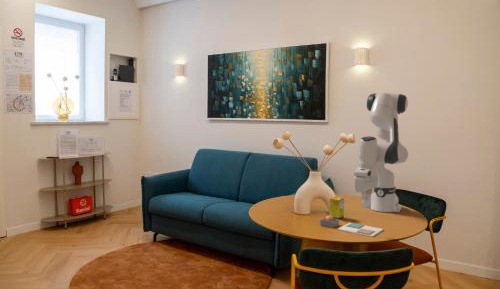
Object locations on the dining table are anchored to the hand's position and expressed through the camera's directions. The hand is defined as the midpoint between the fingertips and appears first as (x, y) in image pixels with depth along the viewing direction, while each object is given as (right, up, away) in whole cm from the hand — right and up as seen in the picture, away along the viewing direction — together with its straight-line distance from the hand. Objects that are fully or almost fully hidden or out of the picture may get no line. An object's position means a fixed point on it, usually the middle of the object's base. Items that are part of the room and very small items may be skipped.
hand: (366, 198), depth 192 cm
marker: (0, -4, 0) cm, 4 cm away
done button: (-15, -14, +15) cm, 25 cm away
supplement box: (-8, -15, +30) cm, 34 cm away
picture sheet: (-1, -17, +6) cm, 18 cm away
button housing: (-15, -16, +15) cm, 26 cm away
